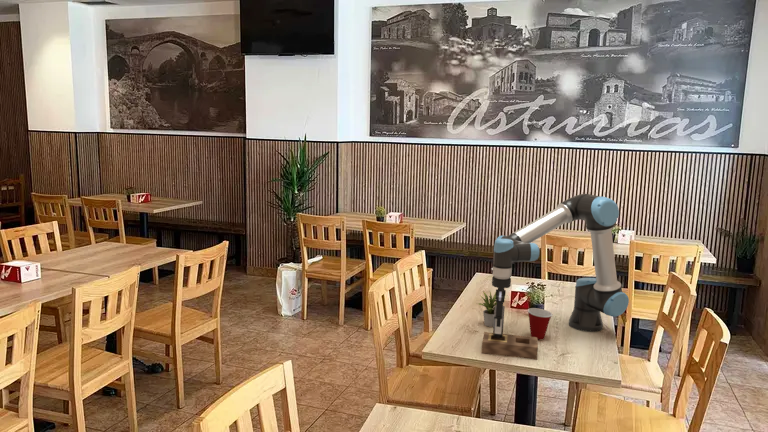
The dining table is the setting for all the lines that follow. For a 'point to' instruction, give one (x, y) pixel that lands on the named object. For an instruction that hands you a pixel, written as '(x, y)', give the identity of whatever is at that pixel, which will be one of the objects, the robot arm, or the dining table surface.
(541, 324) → the plastic cup
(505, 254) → the robot arm
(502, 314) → the pin
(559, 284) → the dining table surface
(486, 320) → the house plant
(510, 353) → the hole block
